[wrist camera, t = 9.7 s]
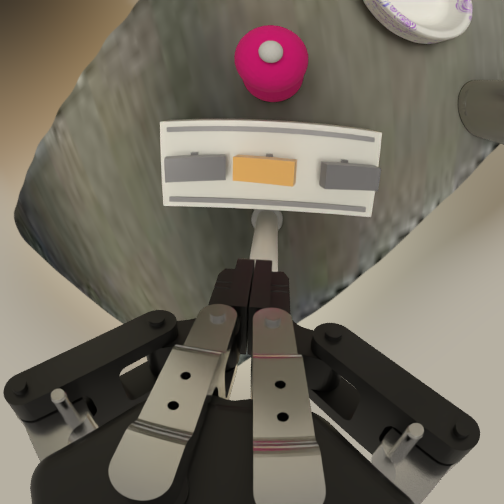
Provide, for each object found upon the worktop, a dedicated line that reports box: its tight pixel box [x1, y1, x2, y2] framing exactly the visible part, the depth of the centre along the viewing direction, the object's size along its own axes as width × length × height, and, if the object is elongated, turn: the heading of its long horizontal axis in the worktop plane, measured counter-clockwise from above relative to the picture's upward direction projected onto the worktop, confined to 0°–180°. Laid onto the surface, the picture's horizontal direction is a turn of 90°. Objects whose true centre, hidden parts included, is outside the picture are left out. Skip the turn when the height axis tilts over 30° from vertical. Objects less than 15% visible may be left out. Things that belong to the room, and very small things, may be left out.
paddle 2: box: [319, 161, 381, 191], centre depth 34 cm, size 7×3×2 cm, turn 89°
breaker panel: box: [160, 119, 382, 217], centre depth 39 cm, size 27×11×6 cm, turn 88°
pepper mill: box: [235, 25, 308, 102], centre depth 27 cm, size 7×7×20 cm
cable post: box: [250, 209, 283, 272], centre depth 35 cm, size 4×4×22 cm
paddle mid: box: [233, 155, 297, 187], centre depth 35 cm, size 7×3×2 cm, turn 88°
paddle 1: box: [164, 154, 226, 183], centre depth 35 cm, size 7×3×2 cm, turn 89°
